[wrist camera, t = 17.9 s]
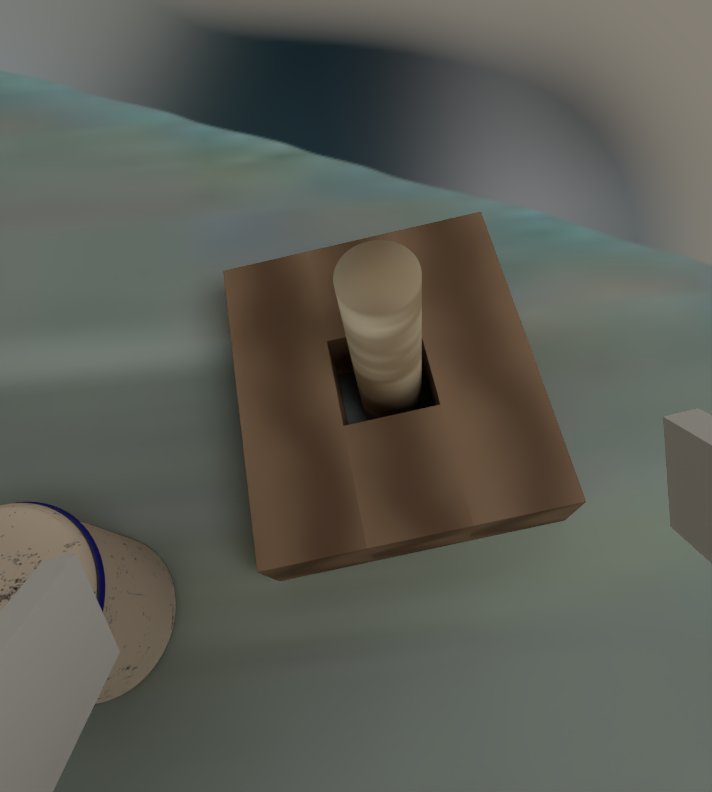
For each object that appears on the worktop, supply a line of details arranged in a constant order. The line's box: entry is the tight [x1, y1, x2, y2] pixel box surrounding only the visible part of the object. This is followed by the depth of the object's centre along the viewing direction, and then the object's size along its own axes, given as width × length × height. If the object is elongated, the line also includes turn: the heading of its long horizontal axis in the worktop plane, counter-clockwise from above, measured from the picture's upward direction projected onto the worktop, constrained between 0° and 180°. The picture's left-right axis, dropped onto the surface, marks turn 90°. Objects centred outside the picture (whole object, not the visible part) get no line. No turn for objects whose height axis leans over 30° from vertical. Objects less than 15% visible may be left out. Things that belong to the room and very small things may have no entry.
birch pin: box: [333, 240, 422, 420], centre depth 29 cm, size 4×4×13 cm
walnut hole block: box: [223, 212, 586, 581], centre depth 33 cm, size 16×18×4 cm
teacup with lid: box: [0, 502, 176, 704], centre depth 26 cm, size 12×9×12 cm
